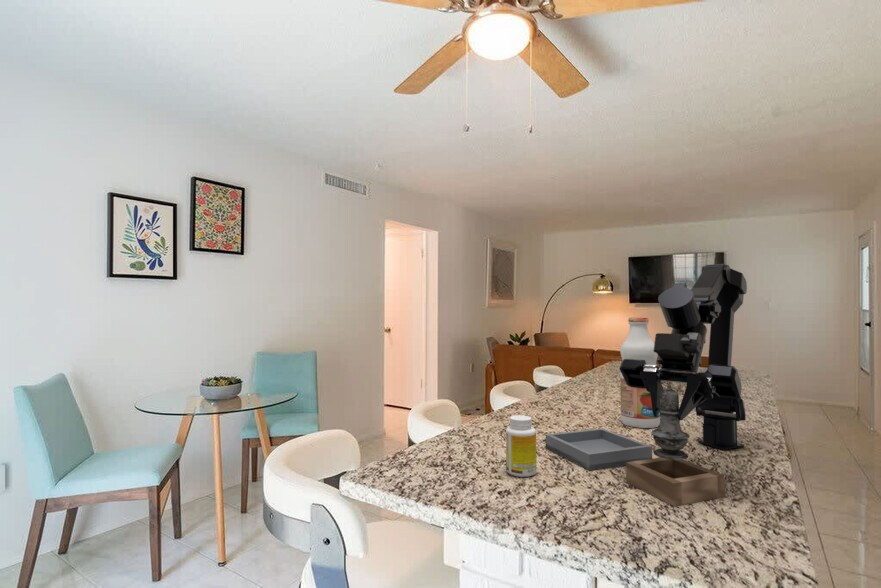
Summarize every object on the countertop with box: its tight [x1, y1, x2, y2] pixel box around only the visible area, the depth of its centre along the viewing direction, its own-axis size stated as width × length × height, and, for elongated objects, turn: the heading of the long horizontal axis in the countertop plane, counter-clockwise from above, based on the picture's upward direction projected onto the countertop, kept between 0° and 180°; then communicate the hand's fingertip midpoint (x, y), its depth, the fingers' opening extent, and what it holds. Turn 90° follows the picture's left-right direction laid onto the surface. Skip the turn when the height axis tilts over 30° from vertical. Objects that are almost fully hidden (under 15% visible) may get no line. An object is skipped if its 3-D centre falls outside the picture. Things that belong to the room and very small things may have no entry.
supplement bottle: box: [505, 414, 537, 478], centre depth 87 cm, size 6×6×10 cm
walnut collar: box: [625, 457, 726, 507], centre depth 79 cm, size 10×10×4 cm
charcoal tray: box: [545, 427, 653, 471], centre depth 98 cm, size 15×15×3 cm
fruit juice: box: [619, 316, 660, 429], centre depth 123 cm, size 9×9×28 cm
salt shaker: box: [650, 383, 690, 460], centre depth 80 cm, size 6×6×12 cm
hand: (666, 417), depth 79 cm, fingers closed on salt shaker, 4 cm apart
